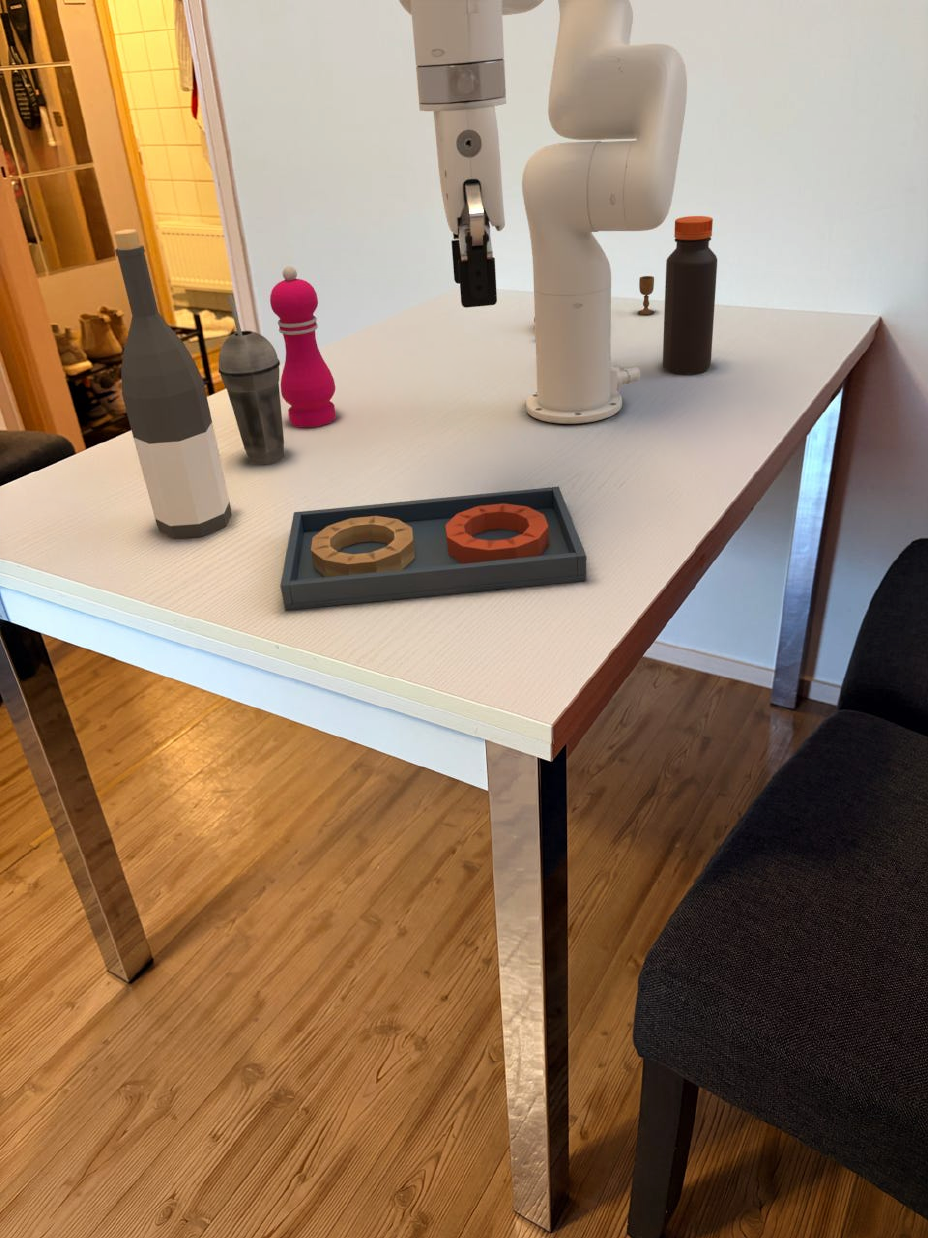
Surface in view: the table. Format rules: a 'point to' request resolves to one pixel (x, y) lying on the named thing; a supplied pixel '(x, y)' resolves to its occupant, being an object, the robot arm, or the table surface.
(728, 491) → the table surface
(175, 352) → the wine bottle
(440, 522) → the tray
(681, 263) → the vinegar
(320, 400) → the pepper mill
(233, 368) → the beverage cup
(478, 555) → the terracotta ring
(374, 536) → the birch ring
